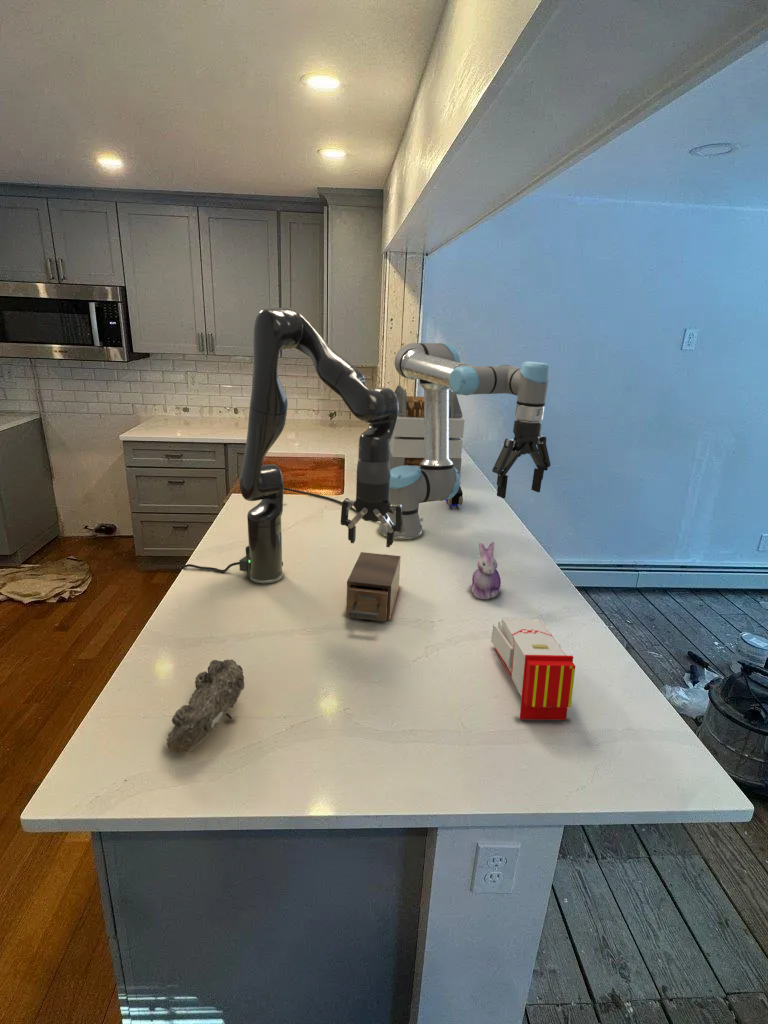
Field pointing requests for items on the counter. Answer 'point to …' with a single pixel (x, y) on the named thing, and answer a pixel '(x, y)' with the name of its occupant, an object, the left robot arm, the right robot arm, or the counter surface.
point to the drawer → (367, 603)
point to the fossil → (206, 705)
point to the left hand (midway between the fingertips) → (370, 544)
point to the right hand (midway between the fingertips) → (518, 494)
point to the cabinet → (377, 575)
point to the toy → (535, 667)
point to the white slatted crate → (422, 431)
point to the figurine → (486, 574)
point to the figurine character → (455, 499)
